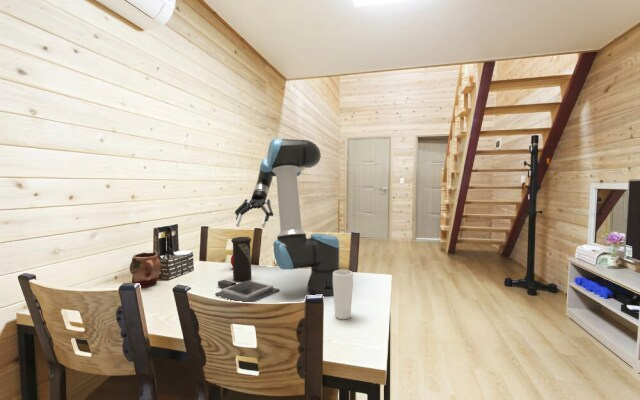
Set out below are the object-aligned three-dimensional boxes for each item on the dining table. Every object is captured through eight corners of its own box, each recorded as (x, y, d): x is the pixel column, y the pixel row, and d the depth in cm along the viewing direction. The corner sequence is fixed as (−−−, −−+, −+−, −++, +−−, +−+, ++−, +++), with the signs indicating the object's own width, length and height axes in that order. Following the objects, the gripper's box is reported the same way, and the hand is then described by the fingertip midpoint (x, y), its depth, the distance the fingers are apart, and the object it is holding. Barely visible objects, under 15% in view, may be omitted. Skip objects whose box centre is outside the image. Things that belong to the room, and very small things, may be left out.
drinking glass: (357, 316, 108) (357, 271, 107) (344, 322, 103) (344, 276, 102) (341, 311, 112) (340, 268, 111) (328, 317, 107) (328, 272, 106)
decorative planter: (170, 286, 141) (169, 255, 140) (140, 294, 132) (139, 260, 131) (151, 278, 154) (150, 249, 153) (123, 284, 145) (121, 253, 144)
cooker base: (279, 291, 133) (279, 285, 133) (246, 305, 119) (245, 298, 118) (237, 281, 148) (237, 275, 148) (203, 291, 134) (203, 286, 133)
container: (247, 282, 146) (246, 238, 145) (229, 281, 147) (228, 238, 146) (255, 277, 154) (254, 235, 153) (237, 276, 156) (236, 235, 155)
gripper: (283, 198, 175) (275, 230, 161) (240, 198, 179) (229, 229, 165) (280, 189, 169) (272, 221, 155) (236, 189, 174) (224, 220, 160)
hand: (249, 225), depth 160 cm, fingers open, 13 cm apart
